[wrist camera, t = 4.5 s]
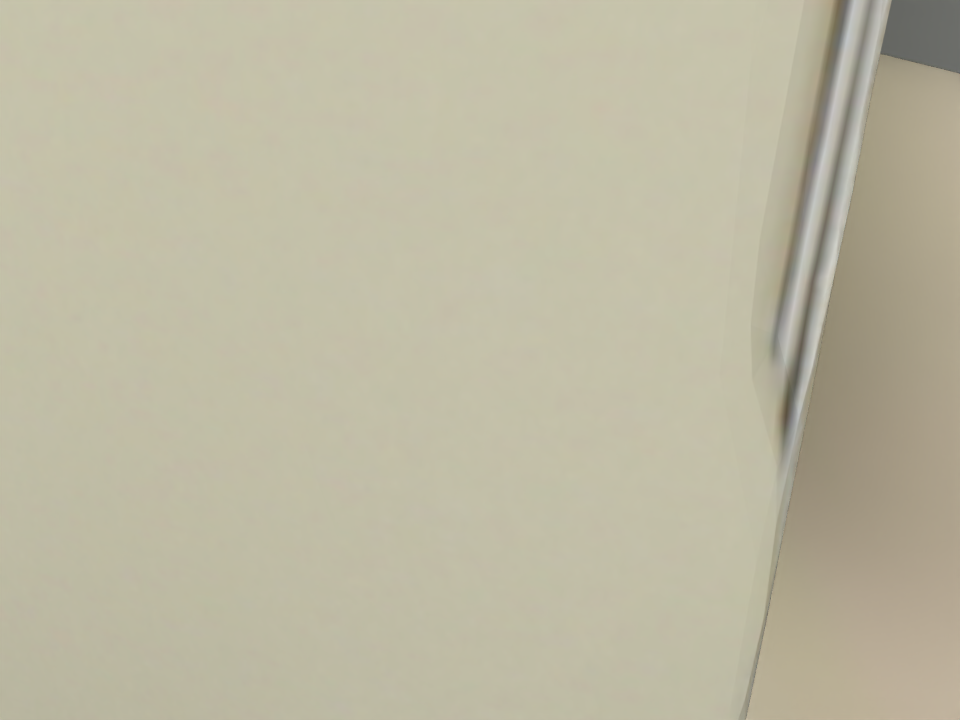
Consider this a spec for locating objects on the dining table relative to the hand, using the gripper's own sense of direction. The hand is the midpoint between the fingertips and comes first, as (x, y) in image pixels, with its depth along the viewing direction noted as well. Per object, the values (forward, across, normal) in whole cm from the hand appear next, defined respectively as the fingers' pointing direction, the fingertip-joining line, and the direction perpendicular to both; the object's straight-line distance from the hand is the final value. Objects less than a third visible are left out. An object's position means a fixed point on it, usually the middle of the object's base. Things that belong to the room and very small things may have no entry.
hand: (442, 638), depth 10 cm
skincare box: (+8, 0, -2) cm, 8 cm away
